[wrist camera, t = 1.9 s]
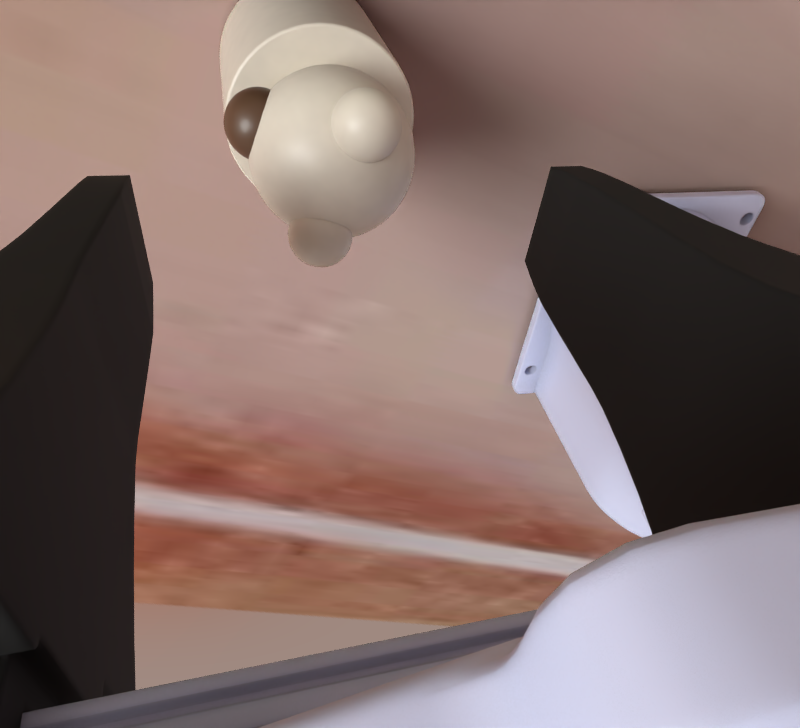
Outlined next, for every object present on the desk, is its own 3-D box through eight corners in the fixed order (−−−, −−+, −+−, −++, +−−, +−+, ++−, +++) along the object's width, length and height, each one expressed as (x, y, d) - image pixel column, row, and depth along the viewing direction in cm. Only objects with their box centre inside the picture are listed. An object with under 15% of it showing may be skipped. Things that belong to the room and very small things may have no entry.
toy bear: (403, 16, 16) (496, 133, 11) (344, 159, 19) (399, 309, 14) (241, -61, 14) (265, 39, 9) (198, 109, 17) (199, 263, 12)
